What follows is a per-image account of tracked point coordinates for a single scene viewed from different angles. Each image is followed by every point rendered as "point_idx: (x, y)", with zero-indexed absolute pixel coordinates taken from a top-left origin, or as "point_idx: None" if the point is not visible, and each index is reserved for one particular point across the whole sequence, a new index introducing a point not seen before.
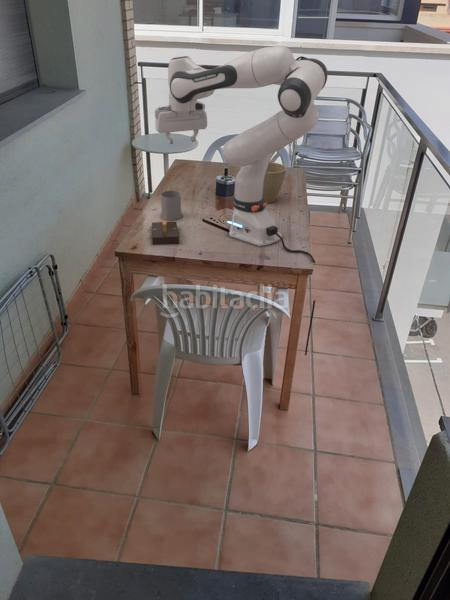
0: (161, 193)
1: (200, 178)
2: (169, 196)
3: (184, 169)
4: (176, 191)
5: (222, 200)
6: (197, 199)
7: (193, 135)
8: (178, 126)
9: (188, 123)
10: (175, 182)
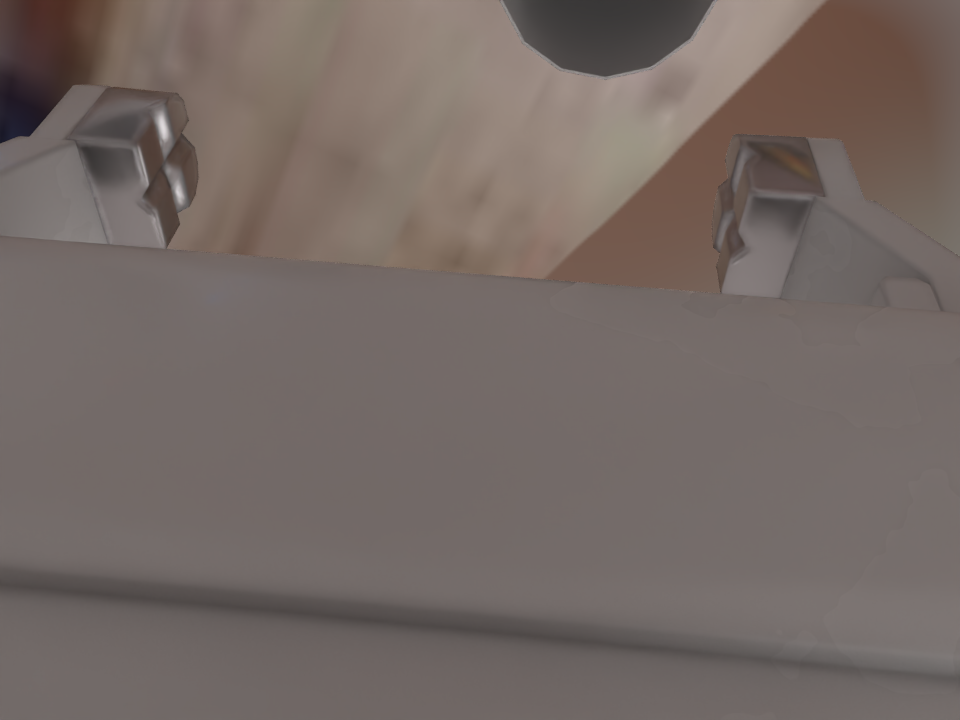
0: (683, 42)
1: None
2: (576, 42)
3: None
4: (514, 20)
5: (43, 11)
6: (252, 123)
7: (76, 231)
8: (603, 408)
9: (91, 431)
10: None
